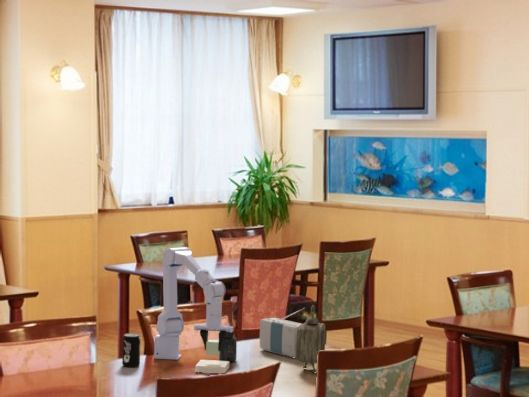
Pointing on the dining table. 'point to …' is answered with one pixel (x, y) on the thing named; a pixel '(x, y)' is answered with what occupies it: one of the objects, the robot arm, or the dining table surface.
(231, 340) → the supplement bottle
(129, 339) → the beverage can
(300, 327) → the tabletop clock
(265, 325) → the stereo radio cassette player
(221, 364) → the ceramic base
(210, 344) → the sage block
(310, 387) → the dining table surface
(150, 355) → the dining table surface
